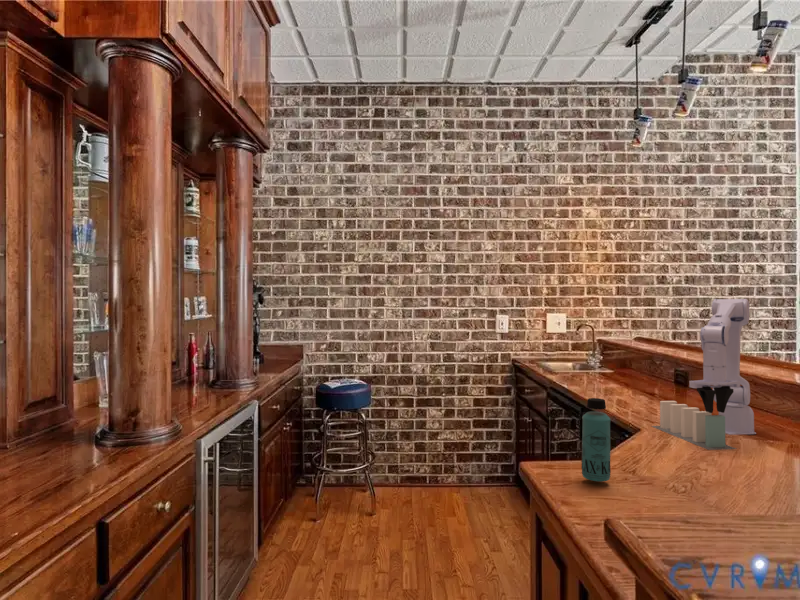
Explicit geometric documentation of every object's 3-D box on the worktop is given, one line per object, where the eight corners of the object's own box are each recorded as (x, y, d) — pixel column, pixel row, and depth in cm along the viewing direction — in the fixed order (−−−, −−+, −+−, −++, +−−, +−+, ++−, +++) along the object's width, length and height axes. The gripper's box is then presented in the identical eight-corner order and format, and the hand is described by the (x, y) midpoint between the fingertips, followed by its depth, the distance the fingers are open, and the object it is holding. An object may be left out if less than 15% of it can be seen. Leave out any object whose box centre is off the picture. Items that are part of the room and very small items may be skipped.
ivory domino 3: (696, 435, 158) (695, 407, 158) (699, 436, 156) (699, 408, 156) (681, 436, 157) (680, 407, 157) (684, 437, 156) (684, 408, 156)
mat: (675, 426, 171) (675, 425, 171) (737, 449, 143) (737, 448, 143) (650, 426, 170) (650, 426, 170) (708, 450, 142) (708, 449, 142)
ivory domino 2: (684, 431, 163) (684, 403, 163) (687, 432, 162) (687, 404, 162) (670, 431, 163) (670, 404, 163) (673, 432, 161) (673, 405, 161)
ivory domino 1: (674, 427, 169) (673, 400, 169) (677, 428, 167) (676, 401, 167) (660, 427, 168) (659, 401, 168) (663, 428, 167) (662, 401, 167)
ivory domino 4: (708, 440, 152) (707, 411, 152) (711, 441, 151) (711, 412, 151) (692, 440, 152) (692, 411, 152) (696, 442, 150) (696, 412, 150)
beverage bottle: (576, 478, 120) (576, 396, 120) (603, 478, 120) (602, 395, 120) (589, 488, 113) (588, 401, 113) (617, 487, 114) (616, 401, 114)
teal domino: (721, 445, 147) (721, 415, 147) (725, 446, 145) (725, 416, 145) (705, 445, 146) (705, 415, 146) (709, 447, 145) (709, 416, 145)
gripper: (700, 368, 141) (701, 415, 141) (748, 367, 143) (748, 414, 143) (684, 365, 148) (684, 410, 148) (729, 364, 150) (730, 409, 150)
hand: (714, 412), depth 146 cm, fingers open, 3 cm apart
